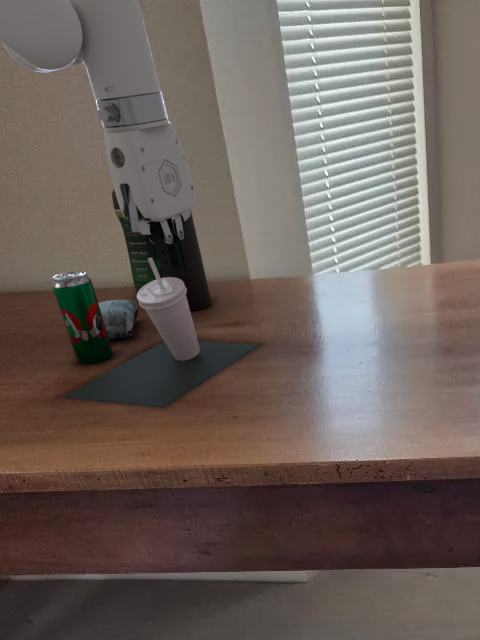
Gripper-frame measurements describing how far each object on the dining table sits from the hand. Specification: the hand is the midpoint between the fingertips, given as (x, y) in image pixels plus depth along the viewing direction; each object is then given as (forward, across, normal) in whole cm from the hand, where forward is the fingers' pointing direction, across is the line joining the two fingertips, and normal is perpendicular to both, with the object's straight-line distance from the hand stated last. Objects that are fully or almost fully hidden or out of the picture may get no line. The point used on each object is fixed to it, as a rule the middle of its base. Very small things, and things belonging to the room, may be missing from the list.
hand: (176, 273), depth 96 cm
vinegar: (+12, +22, +16) cm, 30 cm away
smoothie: (+11, -1, +1) cm, 11 cm away
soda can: (+11, -4, +15) cm, 19 cm away
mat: (+11, -6, +1) cm, 13 cm away
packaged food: (+11, +6, +21) cm, 24 cm away
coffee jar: (+12, +29, +28) cm, 42 cm away
